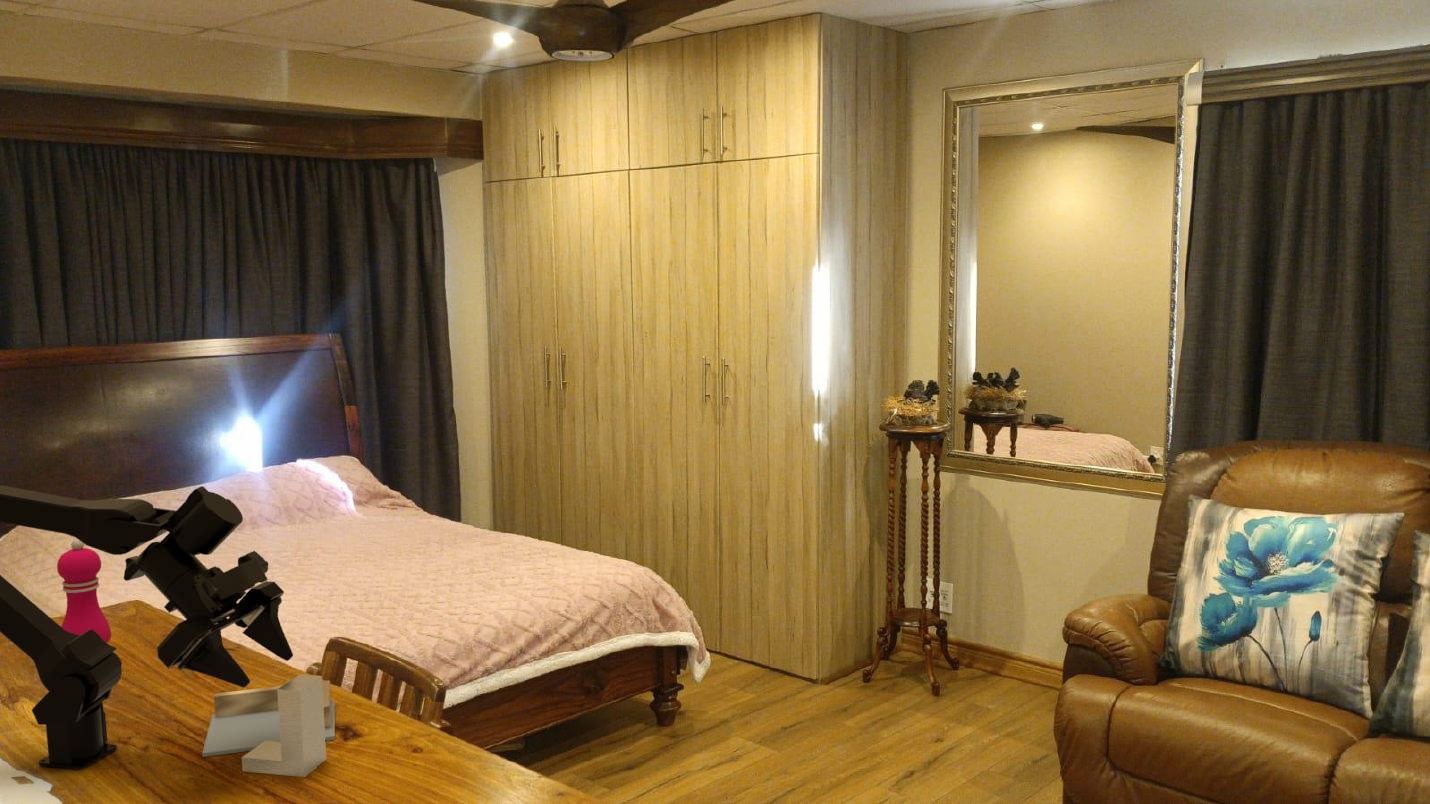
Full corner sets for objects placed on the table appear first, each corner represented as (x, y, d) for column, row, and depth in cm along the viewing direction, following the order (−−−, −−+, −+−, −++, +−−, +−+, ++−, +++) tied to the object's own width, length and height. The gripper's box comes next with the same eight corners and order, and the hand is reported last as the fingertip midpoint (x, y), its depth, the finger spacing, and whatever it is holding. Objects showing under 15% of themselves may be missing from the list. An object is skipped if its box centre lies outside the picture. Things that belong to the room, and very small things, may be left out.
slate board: (202, 757, 148) (202, 753, 148) (212, 718, 160) (212, 714, 160) (334, 739, 153) (334, 736, 153) (334, 703, 165) (334, 700, 165)
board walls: (209, 747, 151) (207, 721, 150) (216, 717, 160) (214, 693, 160) (330, 731, 155) (329, 706, 155) (330, 703, 165) (329, 680, 164)
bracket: (242, 771, 144) (236, 686, 142) (266, 754, 149) (260, 671, 147) (304, 777, 142) (299, 690, 141) (326, 759, 147) (321, 676, 145)
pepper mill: (123, 656, 185) (113, 533, 183) (94, 672, 178) (84, 545, 176) (80, 655, 186) (70, 533, 183) (50, 671, 179) (39, 544, 176)
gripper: (171, 557, 134) (264, 655, 133) (266, 520, 152) (347, 606, 151) (117, 620, 137) (207, 716, 136) (216, 576, 155) (296, 661, 154)
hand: (269, 671), depth 144 cm, fingers open, 9 cm apart
